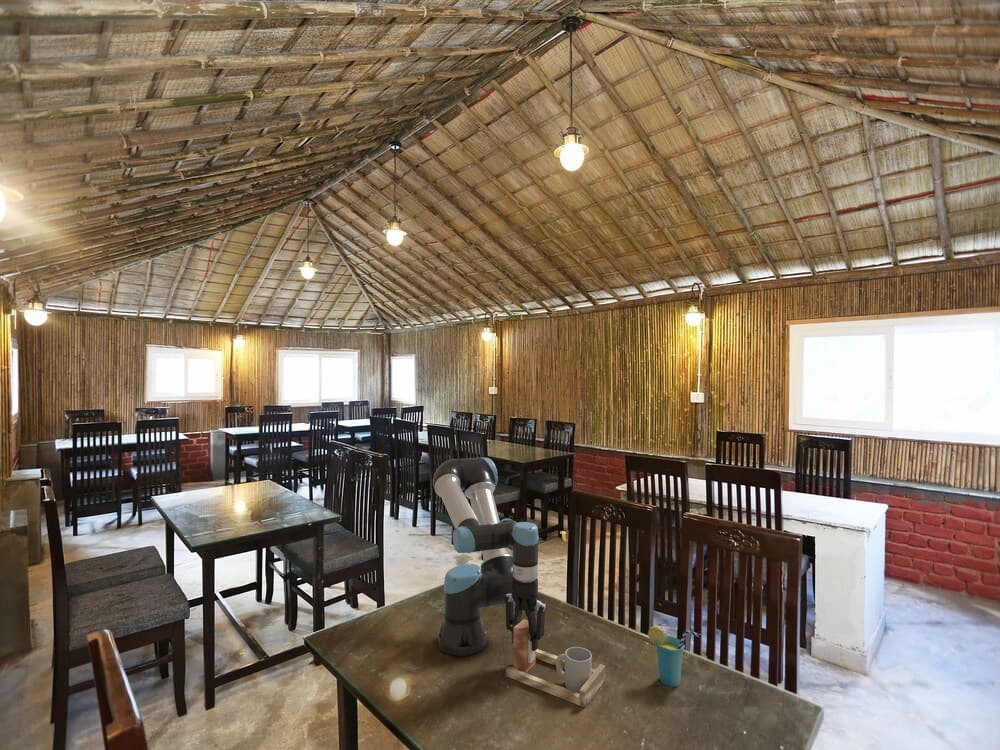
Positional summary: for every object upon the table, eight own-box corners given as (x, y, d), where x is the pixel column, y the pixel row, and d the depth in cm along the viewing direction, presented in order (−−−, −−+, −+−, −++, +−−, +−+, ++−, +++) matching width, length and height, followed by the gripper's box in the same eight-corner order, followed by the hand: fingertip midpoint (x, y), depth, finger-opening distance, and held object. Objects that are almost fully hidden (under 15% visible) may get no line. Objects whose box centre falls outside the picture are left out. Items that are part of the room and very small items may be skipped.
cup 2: (699, 679, 137) (699, 625, 137) (701, 695, 130) (701, 639, 130) (647, 668, 142) (648, 617, 142) (646, 684, 135) (646, 629, 135)
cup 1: (587, 698, 129) (587, 664, 129) (551, 687, 133) (551, 654, 133) (594, 683, 135) (594, 650, 135) (560, 673, 139) (560, 642, 139)
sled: (505, 676, 138) (506, 633, 138) (530, 653, 149) (530, 613, 150) (585, 707, 125) (585, 660, 125) (605, 680, 136) (605, 636, 136)
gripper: (493, 575, 144) (493, 654, 144) (544, 589, 135) (544, 674, 135) (507, 567, 151) (506, 643, 150) (557, 579, 141) (556, 661, 141)
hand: (524, 657), depth 143 cm, fingers closed on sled, 4 cm apart
